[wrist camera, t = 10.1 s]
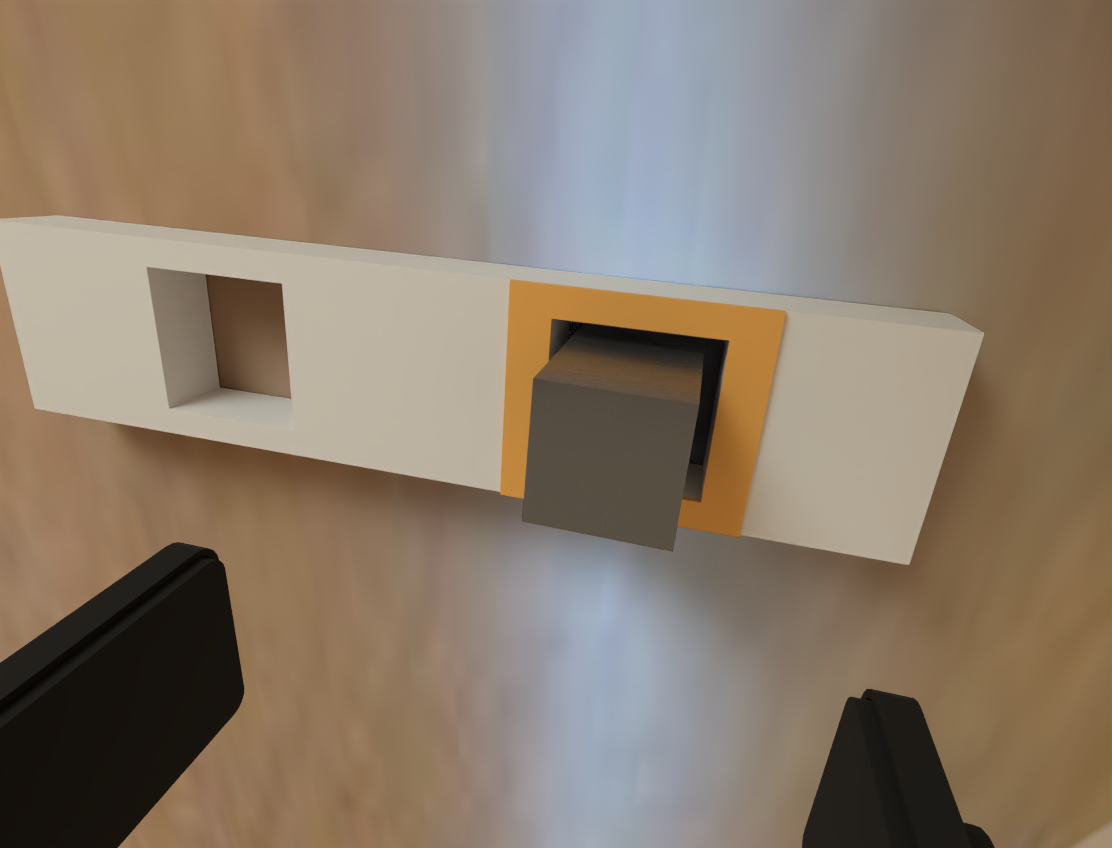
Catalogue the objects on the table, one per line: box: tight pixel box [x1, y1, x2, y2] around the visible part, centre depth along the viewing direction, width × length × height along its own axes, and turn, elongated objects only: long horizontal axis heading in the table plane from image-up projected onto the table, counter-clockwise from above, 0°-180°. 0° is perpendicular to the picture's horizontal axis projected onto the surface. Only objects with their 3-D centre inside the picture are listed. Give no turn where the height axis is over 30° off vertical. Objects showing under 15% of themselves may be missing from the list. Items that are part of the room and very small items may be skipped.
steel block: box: [522, 323, 705, 551], centre depth 21 cm, size 4×4×8 cm
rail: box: [0, 215, 984, 565], centre depth 25 cm, size 8×36×3 cm, turn 85°
